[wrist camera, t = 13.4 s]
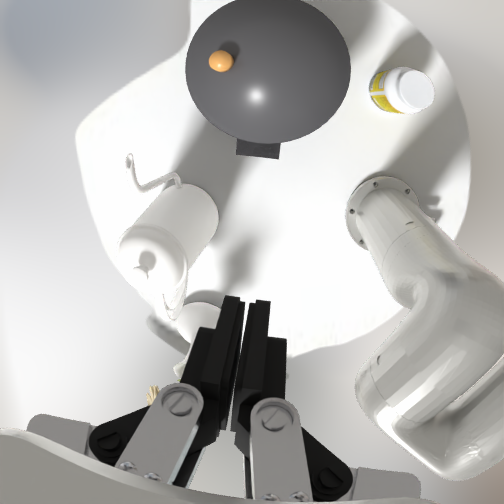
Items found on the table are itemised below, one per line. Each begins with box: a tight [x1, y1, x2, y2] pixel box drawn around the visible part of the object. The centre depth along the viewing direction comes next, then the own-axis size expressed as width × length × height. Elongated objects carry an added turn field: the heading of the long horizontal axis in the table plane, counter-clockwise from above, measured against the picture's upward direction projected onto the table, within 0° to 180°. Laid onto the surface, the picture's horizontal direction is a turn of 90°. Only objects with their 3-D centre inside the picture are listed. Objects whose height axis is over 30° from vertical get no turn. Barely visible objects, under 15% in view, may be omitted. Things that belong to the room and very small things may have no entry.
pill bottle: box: [369, 67, 435, 114], centre depth 30 cm, size 6×6×11 cm
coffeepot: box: [117, 153, 219, 321], centre depth 39 cm, size 11×25×19 cm, turn 0°
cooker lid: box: [185, 0, 351, 144], centre depth 25 cm, size 17×17×3 cm
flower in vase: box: [146, 302, 221, 406], centre depth 47 cm, size 13×11×25 cm
